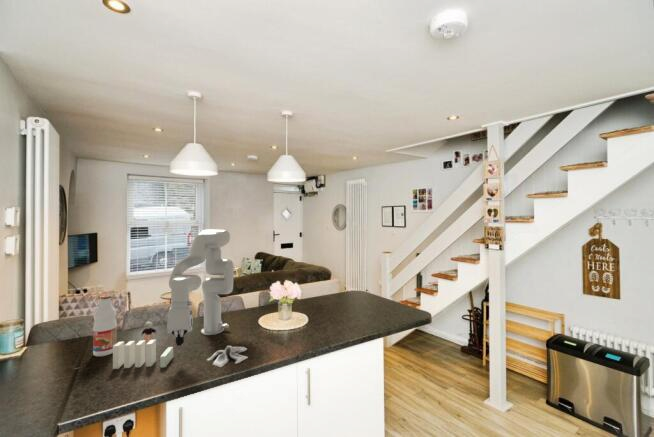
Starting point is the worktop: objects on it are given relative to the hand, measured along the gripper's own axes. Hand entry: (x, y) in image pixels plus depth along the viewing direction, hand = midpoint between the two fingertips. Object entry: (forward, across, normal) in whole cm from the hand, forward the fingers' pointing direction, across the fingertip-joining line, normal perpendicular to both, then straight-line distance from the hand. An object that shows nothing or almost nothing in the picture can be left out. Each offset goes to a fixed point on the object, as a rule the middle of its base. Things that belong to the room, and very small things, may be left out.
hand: (179, 344), depth 138 cm
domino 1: (+8, +26, -1) cm, 27 cm away
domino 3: (+8, +17, -1) cm, 19 cm away
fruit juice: (+8, +40, -17) cm, 44 cm away
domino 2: (+8, +21, -1) cm, 23 cm away
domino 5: (+6, +6, -6) cm, 10 cm away
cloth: (+9, -20, -2) cm, 22 cm away
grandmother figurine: (+8, +22, -22) cm, 32 cm away
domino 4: (+8, +12, -1) cm, 15 cm away
